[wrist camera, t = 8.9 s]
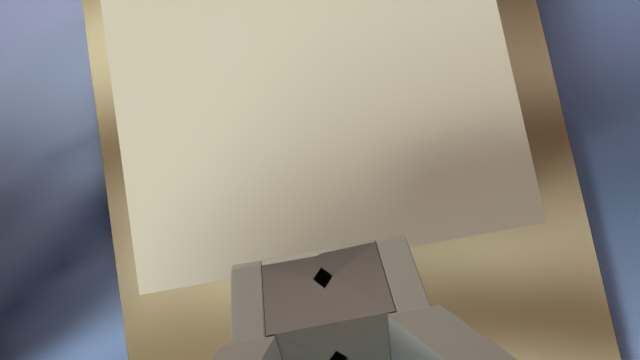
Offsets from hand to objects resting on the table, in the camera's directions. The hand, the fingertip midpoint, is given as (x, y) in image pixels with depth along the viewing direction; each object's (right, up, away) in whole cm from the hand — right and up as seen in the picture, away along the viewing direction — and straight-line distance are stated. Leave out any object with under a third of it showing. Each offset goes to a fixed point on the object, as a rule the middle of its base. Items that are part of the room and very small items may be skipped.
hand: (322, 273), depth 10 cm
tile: (+1, -1, +6) cm, 6 cm away
